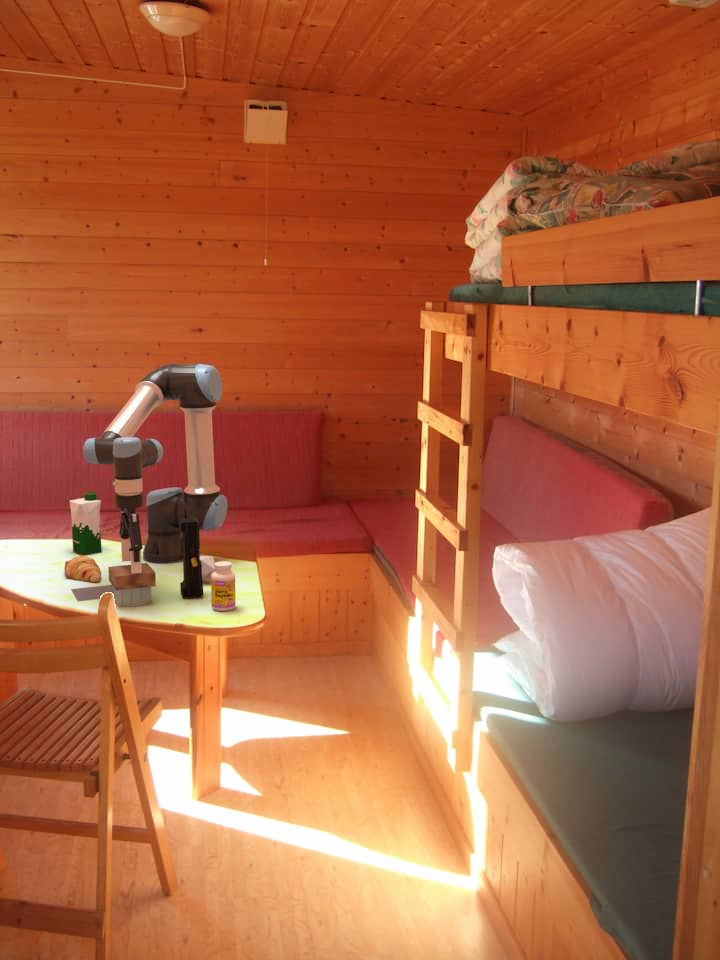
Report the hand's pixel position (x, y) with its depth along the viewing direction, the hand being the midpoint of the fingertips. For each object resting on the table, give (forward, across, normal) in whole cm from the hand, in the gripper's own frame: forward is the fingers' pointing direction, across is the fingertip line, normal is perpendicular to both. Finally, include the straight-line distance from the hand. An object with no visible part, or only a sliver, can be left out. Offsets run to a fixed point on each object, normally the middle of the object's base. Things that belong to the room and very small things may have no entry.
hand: (131, 566), depth 277 cm
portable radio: (+10, +1, +17) cm, 20 cm away
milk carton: (+10, -63, -3) cm, 64 cm away
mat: (+10, -12, -8) cm, 18 cm away
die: (+10, -12, +24) cm, 29 cm away
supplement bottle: (+10, +16, +22) cm, 29 cm away
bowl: (+10, 0, 0) cm, 10 cm away
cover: (+5, 0, 0) cm, 5 cm away
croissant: (+11, -32, -9) cm, 35 cm away
